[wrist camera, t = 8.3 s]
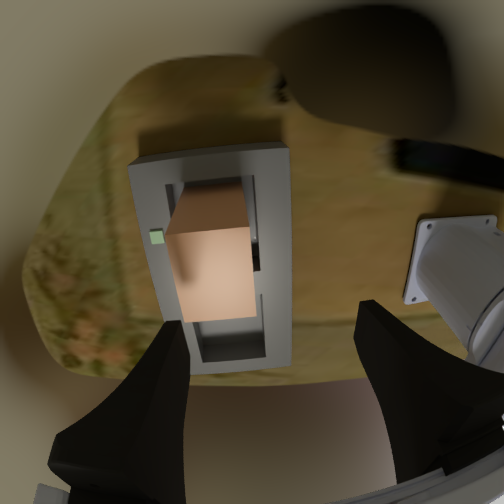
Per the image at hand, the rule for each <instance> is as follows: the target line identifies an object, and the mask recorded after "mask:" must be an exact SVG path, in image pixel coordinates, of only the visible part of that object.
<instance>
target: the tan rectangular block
mask: <svg viewBox="0 0 504 504" xmlns="http://www.w3.org/2000/svg"><path fill="white" fill-rule="evenodd" d="M165 240H166V245H167V250H168V255H169V259H170V264H171V268H172V273H173V277H174V282H175V286H176V290H177V294H178V298H179V303H180V307H181V311H182V315H183V319H184V322H185V323H186V322H200V321H212V320H224V319H235V318H245V317H255V316H257V315H256V302H255V289H254V276H253V264H252V251H251V238H250V226H249V220H248V215H247V209H246V204H245V198H244V193H243V187H242V181H240V182H230V183H220V184H210V185H201V186H193V187H184V188H183V191H182V193H181V195H180V198H179V200H178V203H177V205H176V208H175V210H174V213H173V215H172V218H171V220H170V223H169V225H168V228H167V230H166V233H165Z"/></svg>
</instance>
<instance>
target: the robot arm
mask: <svg viewBox="0 0 504 504" xmlns="http://www.w3.org/2000/svg"><path fill="white" fill-rule="evenodd" d="M428 224H430V225H429V226H428ZM496 224H497V217H496V216H495V215H480V216H464V217H448V218H434V219H422V220H420V221H419V223H418V225H417V232H416V238H415V244H414V249H413V255H412V260H411V265H410V270H409V275H408V280H407V284H406V289H405V293H404V297H403V301H404V303H405V304H406V305H408V304H413V303H418V302H423V301H428V300H429V301H430V302H431V304H432V305H433V306H434V307H435V309H436V310H437V311H438V312H439V314H440V315H441V316H442V318H443V319H444V320H445V322H446V323H447V324H448V325H449V327H450V328H451V329H452V331H453V332H454V334H455V335H456V336H457V338H458V339H459V340H460V342H461V343H462V344H463V346H464V347H465V349H466V350H467V351H468V355H467V357H466V359H465V360H462V359H460V358H458V357H456V356H454V355H452V354H450V353H448V352H446V351H444V350H442V349H441V348H439V347H437V346H435V345H434V344H432V343H430V342H429V341H427V340H426V339H424V338H423V337H422V336H420V335H419V334H417V333H416V332H414V331H413V330H412V329H410V328H409V327H408V326H406V325H405V324H404V323H402V322H401V321H400V320H399V319H397V318H396V317H395V316H394V315H392V314H391V313H390V312H389V311H387V310H386V309H385V308H384V307H382V306H381V305H380V304H379V303H377V302H376V301H375V300H366V301H360V303H359V309H358V315H357V321H356V327H355V332H354V337H353V338H354V341H355V345H356V348H357V352H358V355H359V358H360V360H361V363H362V365H363V367H364V369H365V372H366V374H367V376H368V378H369V380H370V383H371V385H372V387H373V389H374V392H375V394H376V396H377V399H378V401H379V404H380V407H381V410H382V413H383V416H384V420H385V424H386V428H387V432H388V436H389V440H390V444H391V449H392V454H393V460H394V465H395V472H396V480H397V485H394V486H391V487H388V488H385V489H382V490H378V491H375V492H372V493H368V494H364V495H360V496H356V497H353V498H348V499H344V500H340V501H335V502H330V503H325V504H489V503H491V502H492V501H494V500H496V499H497V498H499V497H500V496H502V495H503V494H504V233H503V232H502V231H501V230H499V229H498V228H496ZM427 226H428V227H427ZM412 298H413V299H412ZM189 382H190V352H189V348H188V345H187V341H186V338H185V334H184V330H183V326H182V322H181V320H171V321H165V323H164V324H163V326H162V327H161V329H160V330H159V332H158V334H157V335H156V337H155V338H154V340H153V341H152V343H151V344H150V346H149V347H148V349H147V350H146V352H145V353H144V355H143V356H142V358H141V359H140V360H139V362H138V363H137V364H136V366H135V367H134V368H133V369H132V371H131V372H130V373H129V375H128V376H127V377H126V378H125V379H124V380H123V382H122V383H121V384H120V385H119V386H118V387H117V388H116V389H115V390H114V391H113V392H112V393H111V394H110V395H109V396H108V397H107V398H106V399H105V400H104V401H103V402H102V403H100V404H99V405H98V406H97V407H96V408H95V409H93V410H92V411H91V412H90V413H88V414H87V415H86V416H84V417H83V418H82V419H80V420H79V421H77V422H76V423H74V424H73V425H71V426H69V427H68V428H66V429H65V430H63V431H61V432H60V433H58V434H57V435H56V437H55V439H54V442H53V446H52V449H51V452H50V456H49V460H48V466H49V468H50V470H51V471H52V472H53V473H54V474H55V475H57V476H58V477H59V478H61V479H62V480H63V481H64V482H66V483H67V484H68V485H70V486H71V490H70V493H68V492H66V491H64V490H61V489H58V488H54V487H50V486H47V485H44V484H41V483H40V484H38V486H37V490H36V494H35V498H34V503H33V504H186V497H185V484H184V466H183V465H184V463H183V428H184V419H185V411H186V404H187V396H188V389H189Z"/></svg>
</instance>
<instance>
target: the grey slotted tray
mask: <svg viewBox="0 0 504 504" xmlns="http://www.w3.org/2000/svg"><path fill="white" fill-rule="evenodd" d="M127 167H128V173H129V178H130V183H131V189H132V194H133V199H134V204H135V209H136V213H137V218H138V223H139V227H140V231H141V236H142V240H143V244H144V249H145V253H146V257H147V261H148V265H149V269H150V272H151V276H152V280H153V284H154V287H155V291H156V295H157V298H158V302H159V305H160V309H161V312H162V315H163V319H164V322H165V321H171V320H181V322H182V326H183V330H184V334H185V338H186V341H187V345H188V348H189V352H190V375H196V374H212V373H226V372H238V371H249V370H259V369H268V368H276V367H284V366H291V342H292V229H291V185H290V156H289V147H288V146H287V145H285V144H284V143H283V142H282V141H277V142H261V143H248V144H236V145H225V146H216V147H207V148H198V149H190V150H182V151H175V152H168V153H161V154H154V155H148V156H142V157H138V158H137V159H135V160H134V161H133V162H132V163H130V164H129V165H128V166H127ZM240 181H242V187H243V193H244V198H245V204H246V209H247V215H248V220H249V226H250V238H251V251H252V264H253V276H254V289H255V302H256V315H257V316H255V317H245V318H235V319H224V320H212V321H200V322H186V323H185V322H184V319H183V315H182V311H181V307H180V303H179V298H178V294H177V290H176V286H175V282H174V277H173V273H172V268H171V264H170V259H169V255H168V250H167V245H166V240H165V233H166V230H167V228H168V225H169V223H170V220H171V218H172V215H173V213H174V210H175V208H176V205H177V203H178V200H179V198H180V195H181V193H182V191H183V188H184V187H193V186H201V185H210V184H220V183H230V182H240Z"/></svg>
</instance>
